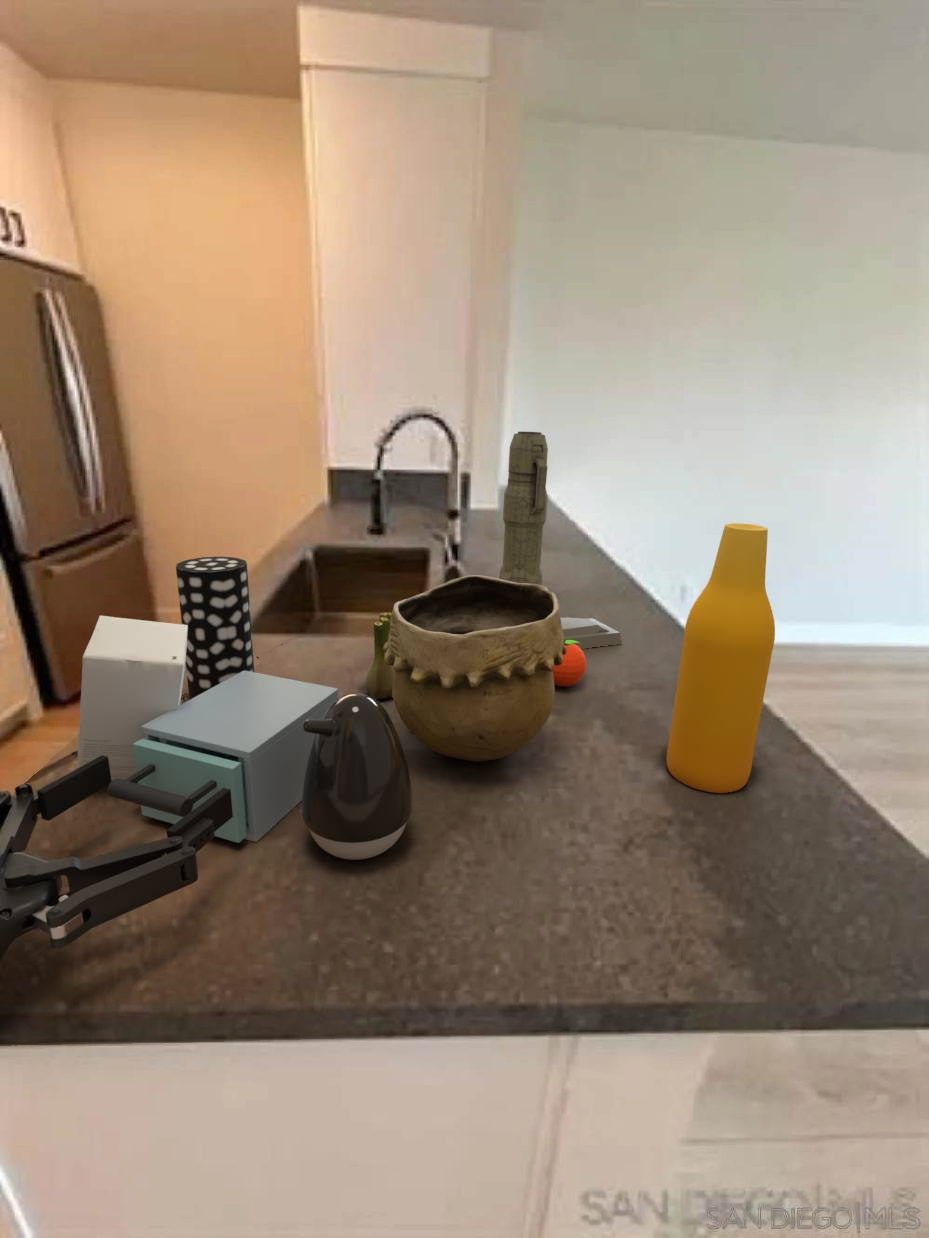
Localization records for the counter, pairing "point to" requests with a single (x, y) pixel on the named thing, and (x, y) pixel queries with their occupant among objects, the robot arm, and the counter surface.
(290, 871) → the counter surface
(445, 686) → the clay pot
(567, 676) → the clementine
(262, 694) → the small drawer unit
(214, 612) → the white-spotted black cylinder
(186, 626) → the rectangular carton
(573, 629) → the soap mold
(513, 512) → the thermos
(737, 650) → the beer bottle
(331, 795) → the pump dispenser
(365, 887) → the counter surface
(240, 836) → the mint green drawer
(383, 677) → the fennel bulb
